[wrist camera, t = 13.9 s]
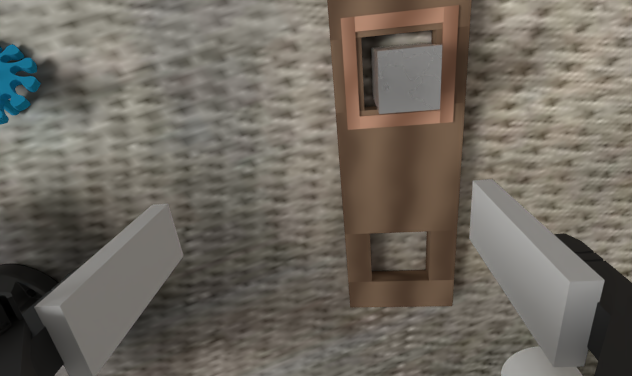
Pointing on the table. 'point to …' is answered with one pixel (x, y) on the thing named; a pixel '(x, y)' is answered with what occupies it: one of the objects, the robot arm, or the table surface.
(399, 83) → the steel block
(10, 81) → the gear
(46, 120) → the table surface
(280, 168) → the table surface
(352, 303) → the walnut rail
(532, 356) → the cylinder with rectangular tab
